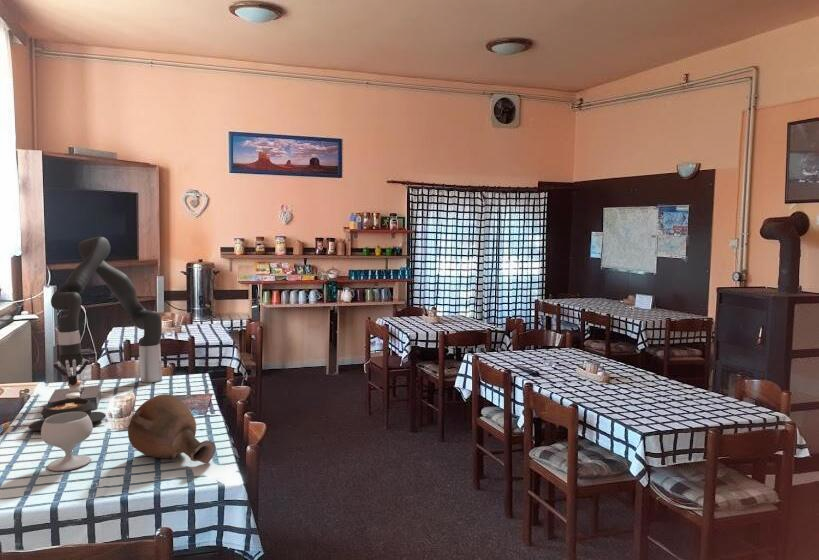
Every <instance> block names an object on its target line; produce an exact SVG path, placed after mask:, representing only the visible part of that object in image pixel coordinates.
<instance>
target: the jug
mask: <svg viewBox="0 0 819 560" xmlns="http://www.w3.org/2000/svg"><path fill="white" fill-rule="evenodd" d="M196 433H197V422H196V419H195V416H194V414H193V413H192V412H191V410H190V408H189V407H188V406H187V405H186V403H184V402H183V401H182V400H181V399H180V398H178V397H177V396H175V395H172V394H167V393H165V394H164V393H163V394H159V395H156V396H153V397H151V398H149V399H147V400H146V401H145V402H144V403H142V404H141V405H140V406H139V407H138V408H137V409H136V410H135V412H134V413H133V415H132V417H131V418H130V421H129V425H128V428H127V437H128V440H129V443H130V444H131V446H132V447H133V448H134V449H135V451H138V452H139V453H141V454H143V455H145V456H148V457H152V458H155V459H156V458H158V459H159V458H160V459H167V458H172V459H176V457H177V456H179V455H181V454H182V453H184V454H185V455H186V456H188V457H189V459H190V461H191V462H201V463H203V464H208V463H210V461H211V460H212V458H213V457H214V455H215V454H216V444H215V442H214V441H212V440H210V439H209V440H208V439H207V440H203V441H201V442H200V441H198V439H197V438H196Z"/></svg>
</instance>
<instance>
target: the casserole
mask: <svg viewBox="0 0 819 560" xmlns="http://www.w3.org/2000/svg"><path fill="white" fill-rule="evenodd" d="M92 408H93V405H92V404H91V402H90V400H88V399H83V398H73V399H64V400H59V401H55V402H52V403H49V404H48V403H47V404H45V405H44V406H43V408H42V411H41V412H40V414H41V416H43V419H39V420H36V421H33V422H31V424H29V426H28V428H29V430H31V431H41V429H42V425H43V423H44V421H45V419H46V418H48V417H50V416H52V415H56V414H60V413H65V412H85V413H87V414H88V416H89V417H90V419H91V422H92V423H96V422H100V421H102V420H104V419H105V418H106V416H107V415H106V413H105V412H102V411H92V410H91V409H92Z"/></svg>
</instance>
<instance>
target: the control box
mask: <svg viewBox="0 0 819 560" xmlns="http://www.w3.org/2000/svg"><path fill="white" fill-rule="evenodd" d="M69 393H70V391H69V387H67V388H59V389H54V390H53V393H52V394H51V396H50V398H49V399H48V401H47V404H49V403H52V402H55V401H59V400H64V399H66V394H69ZM101 397H102V390H101V385H100V384H97V385H89V386H84V388H83V390H81V394H80V397H79V398H83V399H88V400H90V402H91V404H92V405H93V408H92V409H91V411H93V410H95V411H96V410H98V407H99V404H100V401H101Z"/></svg>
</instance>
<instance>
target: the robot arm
mask: <svg viewBox="0 0 819 560" xmlns="http://www.w3.org/2000/svg"><path fill="white" fill-rule="evenodd" d="M77 247H78V252H79V254H80V256H81V257H82V259H83V261H82V262H81V263H80V264H79V265H78V266H76V267H75V268H74V269H73V271H71V273H70V275H69V276H68V278H67V279H66V281H65V283H64V284H62V285H61V286H59V288H57V290H56V291H54V293H53V294H52V296H51V299H50V305H51V307H52V308H53V309H54V310H56V311H68V313H67V315H63V316H60V317H58V318H57V328H58V329H57V330H58V350H59V359H58V361H56V362H55V363H53V367H54V368H55V369H56V370H57V371H58V372H59V373H60V374H61V375H62V376H67V377H68V381H69V384H71V386H72V385H75V384H76V383H77V380H78V375H80V374H81V373H82V372H83V371H84V370H85V368H86V367H87V366H88V364H89V363H90V359H86V358H84V355H83V354H82V345H81V344H82V342H81V334H80V329H79V328H80V327H79V318H80V312H81V307H82V296H81V295H80V294H82V293H83V291H84V290H85V288H86V286H87V284H88V282H89V281H90V278H91V277H92V276H93V274H95V273H96V274H97V275H98V276H99V278H100V279H101V280H102V281H103V282H104V284H106V286H107V288H108V290H110V292H111V293H112V294H113V295H114V297H115V298H116V299H117V301H118V302H119V303H120V305H121V306H122V307H123V309H124V310H125V311H126V312H127V314H128V316H129V317H130V319H131V321H132V322H133V324H134V325H135V327H136V328H138V329H139V330H143V335H142V337H140V338H139V340H138V351H139V353H138V355H139V368H140V369H139V370H140V371H139V372H140V382H141V383H145V384H146V383H155V382H156V383H157V382H160V381H163V371H162V369H163V368H162V357H161V355H162V353H161V339H162V334H163V333H162V328H163V327H162V326H163V324H162V323H163V321H162V317H161V315H160V313H159V312H158V311H155V310H148V309H146V308H145V307H144V306H143V304H141V303H140V301H139V299H138V296H137V295H138V294H137V290H136V287H135V285H134V283H133V282H132V281H131V279H130V278H129V277H128V275H127V274H126V273H124V272H123V271H121V270H119V269H118V268H115V267H114V266H112V265H110V264H109V263H108V262H106V261H105V259H106V258H107V257H108V256H109V254H110V253H111V244H110V241H109V240H108V239H107V238H106V237H104V236H96V237H91V238H87V239H85V240H82V241H81V242H80V241H79V243H78V246H77ZM80 364H82V365H81V366H80V368H79V369H78V366H79V365H80ZM62 366H63V367H65V368H66V370H65V369H64V368H63V367H62Z"/></svg>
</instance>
